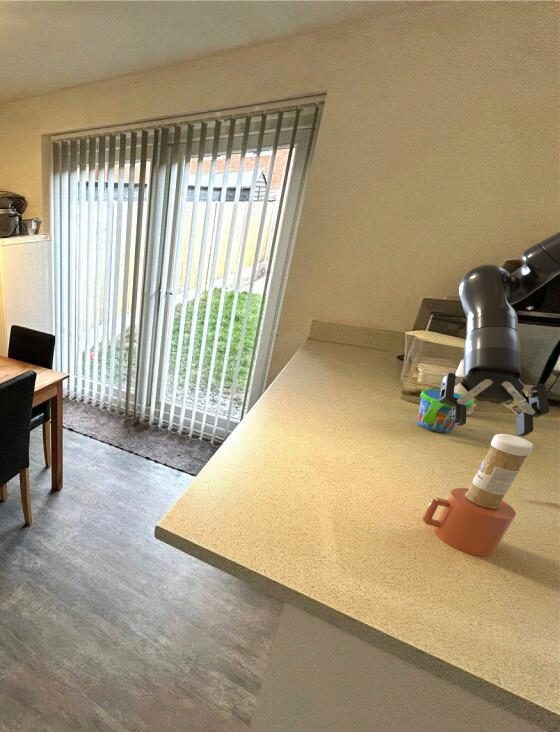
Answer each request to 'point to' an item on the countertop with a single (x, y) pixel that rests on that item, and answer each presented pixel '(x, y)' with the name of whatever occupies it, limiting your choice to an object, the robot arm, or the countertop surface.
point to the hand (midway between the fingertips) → (491, 429)
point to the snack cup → (436, 411)
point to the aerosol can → (461, 389)
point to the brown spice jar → (498, 470)
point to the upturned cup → (469, 523)
